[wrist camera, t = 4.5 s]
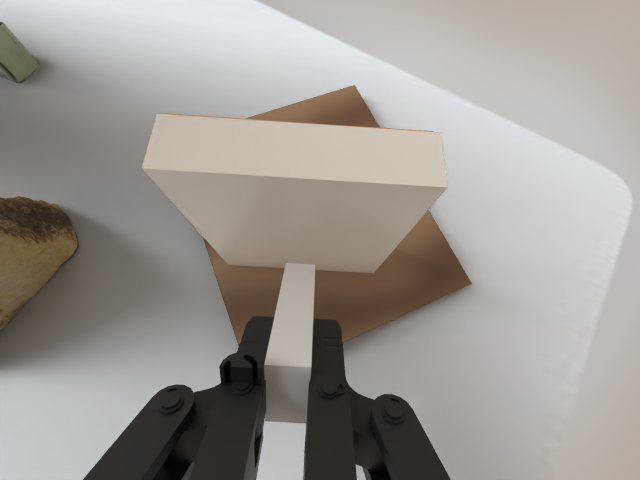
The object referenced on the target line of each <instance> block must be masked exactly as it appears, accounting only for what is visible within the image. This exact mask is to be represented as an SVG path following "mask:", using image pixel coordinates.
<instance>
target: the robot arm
mask: <svg viewBox="0 0 640 480" xmlns="http://www.w3.org/2000/svg"><path fill="white" fill-rule="evenodd" d="M314 286H315V265H313V264H296V263H286V265H285V269H284V274H283V279H282V284H281V288H280V293H279V298H278V302H277V307H276V312H275V317H264V316H253V317H252V318H251V319H250V321H249V322H248V323H247V324H246V326H245V330H244V333H243V336H242V339H241V343H240V345H239V348H238V351H237V353H234V354H232V355H229V356H228V357H227V358H225V359H224V360H223V361H222V363H221V365H220V376H221V384H219V385H217V386H215V387H213V388H210V389H207V390H202V391H198V392H194V393H193V391H192V390H191V388H189V387H187V386H185V385H172V386H168V387H166V388H164V389H162V390H160V391H159V392H158V393H157V394H156V395H154V396H153V397H152V398H151V400H150V401H149V402H148V403H147V404H146V406H145V407H144V408H143V409H142V410H141V411H140V413H139V414H138V415H137V416H136V417H135V419H134V420H133V421H132V422H131V423H130V424H129V426H128V427H127V428H126V429H125V430H124V432H123V433H122V434H121V435H120V436H119V437H118V439H117V440H116V441H115V442H114V443H113V445H112V446H111V447H110V448H109V449H108V450H107V452H106V453H105V454H104V455H103V456H102V458H101V459H100V460H99V461H98V462H97V464H96V465H95V466H94V467H93V468H92V469H91V471H90V472H89V473H88V474H87V475H86V477H85V478H84V479H83V480H256V477H257V471H258V465H259V459H260V453H261V447H262V441H263V424H264V419H265V421H273V422H293V423H306V437H305V451H304V453H305V456H304V475H303V480H357V476H356V465H355V464H357V465H359V466H362V467H363V471H364V474H365V477H366V480H450V478H449V476H448V474H447V472H446V470H445V468H444V467H443V465H442V463H441V461H440V459H439V457H438V455H437V454H436V452H435V450H434V448H433V446H432V444H431V443H430V441H429V439H428V437H427V435H426V433H425V431H424V430H423V428H422V426H421V424H420V422H419V420H418V418H417V417H416V415H415V413H414V411H413V409H412V408H411V407H410V405H409V404H408V403H407V402H406V401H405V400H403V399H402V398H401V397H398V396H395V395H393V394H384V395H381V396H379V397H377V398H376V399H375V400H373V399H370V398H367V397H364V396H362V395H360V394H358V393H357V392H355V391H354V390H353V389H352V388H351V387H350V386H349V385H348V383H347V381H346V377H345V367H344V355H343V342H342V330H341V327H340V325H339V324H338V322H337V321H336V320H332V319H314V318H313V312H314Z"/></svg>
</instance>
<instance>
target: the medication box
mask: <svg viewBox="0 0 640 480" xmlns="http://www.w3.org/2000/svg"><path fill="white" fill-rule="evenodd" d="M38 66H39V64H38V63H37V61H36V60H35V59H34V58H33V57H32V56H31V55H30V53H29V52H28V51H27V50H26V49H25V48H24V46H23V45H22V44H21V43H20V42H19V41H18V39H17V38H16V37H15V36H14V35H13V33H12V32H11V31H10V30H9V29H8V28H7V26H6V25H5V24H4V23H3V22H0V76H2V77H5V78H7V79H9V80H12V81H14V82H17V83H21V82H23V81H24V80H25V79H26V78H27V77H29V76H30V75H31V74H32V73H33V72H34V71H35V70H36V68H37V67H38Z"/></svg>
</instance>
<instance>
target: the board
mask: <svg viewBox="0 0 640 480" xmlns="http://www.w3.org/2000/svg"><path fill="white" fill-rule="evenodd" d="M246 119H255V120H270V121H285V122H300V123H315V124H330V125H345V126H360V127H375V128H380V127H379V126H378V124H377V122H376V121H375V119H374V117H373V115H372V114H371V112H370V110H369V109H368V107H367V105H366V104H365V102H364V100H363V99H362V97H361V95H360V93H359V92H358V90H357V88H356V87H355V85H353V86H350V87H347V88H343V89H340V90H337V91H334V92H330V93H327V94H324V95H321V96H317V97H314V98H311V99H308V100H304V101H301V102H298V103H295V104H291V105H288V106H285V107H282V108H278V109H275V110H272V111H269V112H265V113H262V114H259V115H256V116H252V117H249V118H246ZM203 239H204V242H205V245H206V248H207V251H208V254H209V257H210V260H211V263H212V266H213V269H214V272H215V275H216V278H217V281H218V284H219V287H220V290H221V293H222V296H223V299H224V302H225V305H226V309H227V312H228V315H229V318H230V321H231V324H232V327H233V330H234V333H235V336H236V339H237V342H238V345H240V343H241V339H242V336H243V333H244V330H245V326H246V324H247V323H248V322H249V321H250V319H251V318H252V317H253V316H264V317H275V312H276V307H277V302H278V298H279V293H280V288H281V284H282V279H283V274H284V269H285V268H273V267H255V266H237V265H228V264H227V263H226V262H225V260H224V259H223V258H222V257H221V256H220V255H219V254H218V253H217V252H216V250H215V249H214V248H213V247H212V246H211V245H210V244H209V243H208V242H207V240H206V239H205V238H204V237H203ZM470 284H472V283H471V281H470V280H469V278H468V276H467V275H466V273H465V271H464V270H463V268H462V266H461V265H460V263H459V261H458V259H457V258H456V256H455V254H454V253H453V251H452V249H451V248H450V246H449V244H448V242H447V241H446V239H445V237H444V236H443V234H442V232H441V231H440V229H439V227H438V226H437V224H436V222H435V220H434V219H433V217H432V215H431V214H430V212H429V210H428V211H427V212H426V213H425V214H424V215H423V216H422V218H421V219H420V220H419V221H418V222H417V223H416V225H415V226H414V227H413V228H412V229H411V230H410V232H409V233H408V234H407V235H406V236H405V237H404V239H403V240H402V241H401V242H400V243H399V244H398V246H397V247H396V248H395V249H394V250H393V251H392V252H391V254H390V255H389V256H388V257H387V258H386V259H385V261H384V262H383V263H382V264H381V265H380V266H379V268H378V269H377V270H376V271H375V272H374V273H362V272H344V271H326V270H315V286H314V312H313V318H314V319H332V320H336V321H337V322H338V324H339V325H340V327H341V330H342V342H343V343H344V342H346V341H348V340H350V339H352V338H355V337H357V336H359V335H361V334H363V333H365V332H368V331H370V330H372V329H374V328H376V327H378V326H381V325H383V324H385V323H387V322H389V321H392V320H394V319H396V318H398V317H400V316H402V315H405V314H407V313H409V312H411V311H413V310H415V309H418V308H420V307H422V306H424V305H426V304H429V303H431V302H433V301H435V300H437V299H439V298H442V297H444V296H446V295H448V294H450V293H453V292H455V291H457V290H459V289H461V288H463V287H466V286H468V285H470Z"/></svg>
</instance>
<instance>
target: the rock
mask: <svg viewBox="0 0 640 480" xmlns="http://www.w3.org/2000/svg"><path fill="white" fill-rule="evenodd" d="M77 245H78V242H77V239H76V235H75V231H74V229H73V226H72V223H71V221H70V219H69V218H68V216H67V215H66V214H65V213H64V212H63V211H61V210H60V208H59V207H58V205H56V204H49V203H47V202H45V201H42V200H41V201H37V200H32V199H29V198H25V197H20V196H18V197H16V198H6V199H5V198H0V330H1V329H2V328H3V327H5V326H6V324H7V323H8V322H9V321H10V320H11V319H12V318H13V317H14V316H15V314H16V312H17V311H18V310H19V309H20V308H21V307H22V306H23V305H24V304H25V303H26V302H27V301H28V300H29V299H30V298H32V297H34V296H35V295H36V294H37V293H38V292H39V290H40V289H41V288H42V287H43V285H44V284H45V283H47V282H48V281H49V280H50V279H51V278H52V276H53V275H54V274H55V272H56V271H57V270H58V269H59V267H60V265H61V264H62V263H64V262H65V261H67V260H68V259H69V258H70V257H71V256H72V254H73V253H74V252H75V250H76V248H77Z"/></svg>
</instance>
